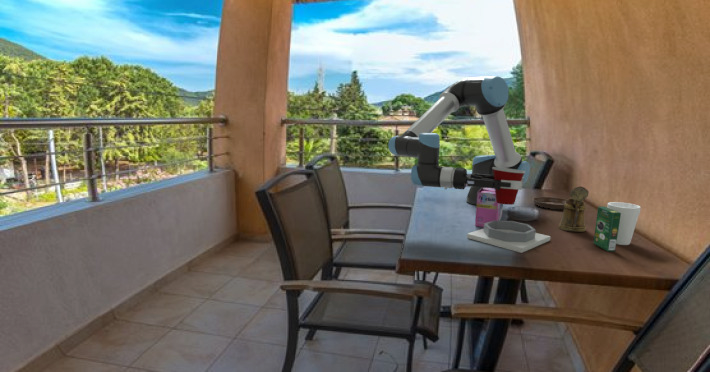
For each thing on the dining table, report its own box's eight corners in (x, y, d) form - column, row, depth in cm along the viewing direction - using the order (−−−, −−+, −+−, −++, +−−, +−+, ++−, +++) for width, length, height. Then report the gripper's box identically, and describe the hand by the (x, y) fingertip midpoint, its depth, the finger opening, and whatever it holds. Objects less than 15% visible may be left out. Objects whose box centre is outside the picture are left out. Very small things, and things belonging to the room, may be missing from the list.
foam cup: (596, 239, 144) (601, 203, 142) (614, 236, 148) (619, 201, 146) (623, 247, 136) (628, 209, 133) (641, 244, 139) (647, 207, 137)
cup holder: (497, 227, 157) (498, 216, 157) (550, 240, 143) (551, 227, 142) (466, 237, 144) (467, 225, 144) (521, 252, 130) (522, 239, 129)
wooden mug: (561, 234, 150) (566, 185, 147) (557, 224, 163) (562, 179, 160) (589, 237, 147) (594, 187, 144) (582, 227, 160) (588, 181, 156)
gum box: (483, 212, 181) (486, 182, 178) (502, 215, 177) (505, 183, 175) (474, 226, 160) (476, 191, 157) (495, 229, 156) (498, 193, 154)
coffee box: (616, 252, 132) (622, 212, 129) (607, 252, 131) (612, 212, 129) (601, 244, 139) (605, 206, 137) (592, 244, 139) (597, 206, 137)
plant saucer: (533, 201, 207) (533, 195, 206) (572, 204, 200) (573, 198, 199) (531, 208, 191) (532, 201, 191) (574, 212, 184) (575, 206, 183)
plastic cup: (525, 207, 135) (529, 170, 133) (491, 204, 137) (494, 168, 135) (520, 201, 145) (523, 167, 144) (488, 199, 148) (490, 166, 146)
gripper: (459, 183, 158) (523, 189, 149) (447, 193, 139) (519, 200, 130) (460, 164, 157) (524, 168, 147) (448, 171, 138) (521, 176, 129)
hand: (522, 183), depth 139 cm, fingers closed on plastic cup, 8 cm apart
